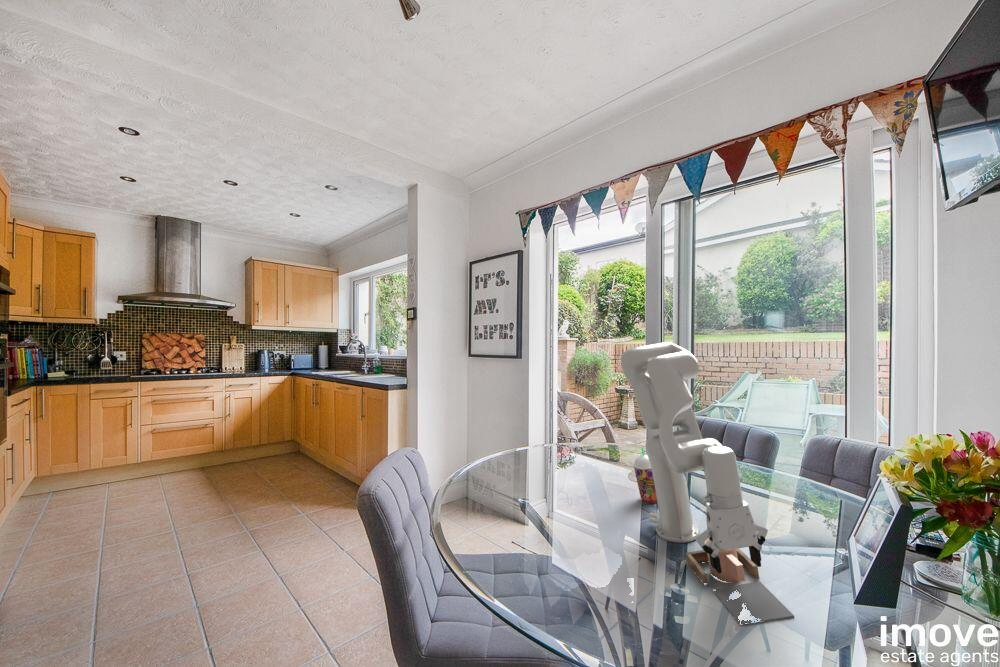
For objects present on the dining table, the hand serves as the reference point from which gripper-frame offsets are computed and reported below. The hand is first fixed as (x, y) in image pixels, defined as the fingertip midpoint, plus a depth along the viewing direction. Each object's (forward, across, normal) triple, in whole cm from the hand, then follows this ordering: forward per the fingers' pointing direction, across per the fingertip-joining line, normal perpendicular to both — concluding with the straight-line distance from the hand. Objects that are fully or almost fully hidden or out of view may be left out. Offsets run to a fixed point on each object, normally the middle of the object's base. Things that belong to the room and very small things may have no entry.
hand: (736, 566), depth 102 cm
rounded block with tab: (+6, 0, +4) cm, 7 cm away
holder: (+6, 0, +9) cm, 10 cm away
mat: (+6, 0, -4) cm, 8 cm away
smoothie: (+5, -3, +53) cm, 54 cm away
